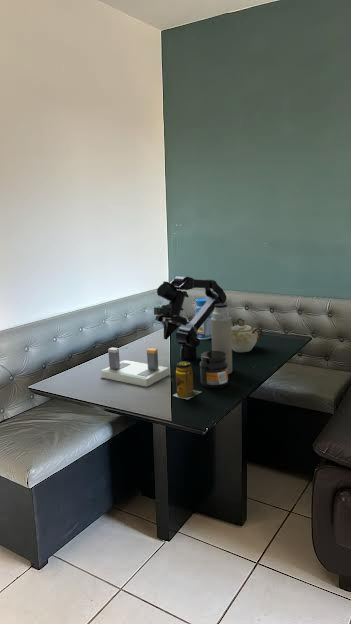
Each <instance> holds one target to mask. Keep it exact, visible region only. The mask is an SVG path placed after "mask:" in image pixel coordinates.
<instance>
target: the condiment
mask: <svg viewBox="0 0 351 624" xmlns="http://www.w3.org/2000/svg"><path fill="white" fill-rule="evenodd" d="M192 369H193V368H192V363H191V361H190V362H189V361H186V360H183V361H178V362H177V363H176V370H175V383H176V384H175V385H176V393H174V394H173V395H172V396H173V397H176V398H179V399H182V400H183V399H185V400H190V399H191V398H193V397H195V396H197V395H199V394H200V393H202V391H199V390H195V389H194V376H193V374H194V373H193V370H192ZM194 394H195V395H194Z"/></svg>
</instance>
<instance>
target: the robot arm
mask: <svg viewBox="0 0 351 624" xmlns="http://www.w3.org/2000/svg"><path fill="white" fill-rule="evenodd" d="M195 288H197V289H205V290H204V293H205V295H206V297H205V298H206V303H205V304H204V306H203V307H202V308H201V309H200V310H199V312H198V313H197V314H194V316H193V317H192V319H191V320H190V321H189V322H188V319H187V318H186V317H183V316H182V315H181V312H182V311H184V308H183V305H184V302H185V298H189V294H188V292H187V291H189V290H193V289H195ZM156 294H157V296H158V297H160V298H162V299H165V300H166V301H169V302H168V303H167V304H163V305H161V306H159V307H153V316H155V318H154V320H155V321H156V322H158V323H161V324H162V326H163V340H166V341H167V340H168V339H169V337H171V335H172V334H173V333H174V332H175V331H176V330H177V331H176V332H175V338H176V342H177V343H178V345H181V347H180V358H181V359H182V361H195V360H198V355H197V347H198V346H200V344H201V339H198V338H197V331H198V329H199V328H200V327H201V325H202V324H203V323H204V322H205V320H206V319H207V318H208V317H209V315H210V314H211V315H212V314H213V312H214V311H215V306H214V305H215V304H226V301H227V294H226V293H225V291H224V289H223V288H222V287H221V286H219V284H218V283H217V281H216V280H214V279H209V278H207V279H198V278H193V277H190V276H186V275H184V276H183V275H176V276H175V277H174V278H173V279H172V280H171V282H169V281H168V280H167V281H166V280H165V281H164V280H163V282H162V283H161V284H160V285H159V286H158V287H157V290H156ZM179 324H181V325H179Z"/></svg>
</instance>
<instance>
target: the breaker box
mask: <svg viewBox="0 0 351 624" xmlns="http://www.w3.org/2000/svg"><path fill="white" fill-rule="evenodd" d="M169 368H170V367H167V366H162V365H158V369H157V370H151V369H148V363H144V362H139V361H138V362H137V361H132V360H127V359H124V360H121V361H120V368H118V369H112V368H110V366H108V367H106V368H103V369H101V370H100V374H101V376H100V377H101V378H103V379H107V380H113V381H118V382H122V383H127V384H131V385H135V386H142V387H148V386H151V385H152V384H154V383H156V382H158V381H160V380H162V379H164V378H165V377H167V376H169V375H170V374H169V373H170V372H169V371H170V369H169Z"/></svg>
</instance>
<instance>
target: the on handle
mask: <svg viewBox="0 0 351 624" xmlns="http://www.w3.org/2000/svg"><path fill="white" fill-rule="evenodd" d="M107 350H108V351H107V352H108V361H109V363H108V364H109V365H108V367H110V368H112V369H118V368H120V362H121V361H120V348H118V347H110V348H108V349H107Z"/></svg>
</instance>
